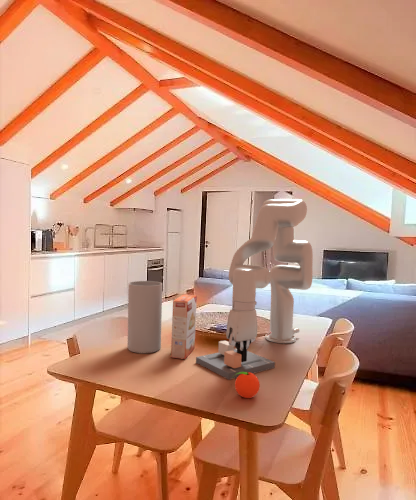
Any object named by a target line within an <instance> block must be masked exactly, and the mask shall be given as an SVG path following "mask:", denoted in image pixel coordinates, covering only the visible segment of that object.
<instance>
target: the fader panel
mask: <svg viewBox="0 0 416 500" xmlns="http://www.w3.org/2000/svg"><path fill="white" fill-rule="evenodd" d="M234 352H237V348H234ZM195 363H196V364H198V365H199V364H200V365H199V366H202V367H204V368H205V367H206V369H207V368H208V370H209V369H210V371H211V372H214V373H215V374H217V375H219V376H221V377H222V378H225V379H227V380H230V381H231V380H233V379H237V377H238V376H239V375H240V374H237V373H239V372H250V373H253V374H256V373H260V372H264V371H268V370H270V369H274V368H275V367H276V366H275V365H276V362H275V361H274V360H271V359H268V358H266V357H263V356H261V355H258V354H256V353H253V352H251V351H249V350H247V361H246V362H241V367H238V368H232V367H230V366H228V365H226V364H224V355H222V354H220V353H218V352H215V353H209V354H205V355H200V356H196V357H195ZM235 374H236V375H235ZM233 376H234V377H233Z"/></svg>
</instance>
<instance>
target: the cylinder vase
mask: <svg viewBox="0 0 416 500" xmlns="http://www.w3.org/2000/svg"><path fill="white" fill-rule="evenodd" d="M127 293H128V299H127V301H128V302H127V307H128V308H127V345H126V346H127V349H128V351H130V352H131V353H136V354H150V353H155V352H158V351H160V349H161V348H162V312H163V311H162V309H163V308H162V307H163V282H159V281H153V280H138V281H136V280H135V281H130V282H129V283H128V292H127Z"/></svg>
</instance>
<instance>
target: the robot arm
mask: <svg viewBox="0 0 416 500" xmlns="http://www.w3.org/2000/svg"><path fill="white" fill-rule="evenodd" d="M307 213H308V206H307V203H306V201H304V200H303V199H301V198H300V199H299V198H295V199H294V198H293V199H291V198H290V199H289V198H272V199H267V200H264V202H262V206H260V208H259V210H258V214H257V217H256V221H255V224H254V227H253V232H252V234H251V237H250V238H249V239H248V240H247V241H245V242H244V243H243V244H242V245H241V246H240V247H239V248H238V249H237V250H236V251H235V252H234V254H233V256H232V259H231V262H230V266H229V269H228V280H229V283H230V284H231V285H232V296H231V297H232V300H231V309H230V310H229V312H228V317H227V323H226V332H225V334H226V339H228V342H229V345H232V346H234V349H237V353H239V354H241V355H242V357H241V362H246V361H247V351H248V350H249V348H250V345H251V343H253V342H255V341H256V338H257V336H258V316H257V314H258V313H257V309H256V306H257V304H258V302H257V301H256V297H257V296H256V294H257V292H256V291H257V289H264V288H266V287H268V285H269V284H270V308H269V309H270V312H269V314H270V315H269V332H270V331H271V332H272V333H271V334H270V335H268V336H266V335H265V339H266V340H267V341H269V342H272V343H275V344H277V343H278V344H292V343H295V342H296V340H297V338H296V336H295V335H296V334H299V333H300V329H299V328H298V327H297V328H294V327H293V326H294V308H295V307H294V306H295V304H294V303H295V301H294V295H293V294H292V292H291V289H293V290H301V291H306V290H309V289H311V286H312V285H313V260H314V259H313V253H314V252H313V247H312V244H311V243H310V242H309V241H307V240H298V239H295V237H294V236H295V235H294V233H295V231H294V228H295V227H297V226H298V225H299V224H300V223H302V222H303V221H304V220H305V219H306V216H307ZM270 249H272V255H273V259H274V261H276V262H279V263H285V264H277V265H274V266H272V267H271V269H270V270H269V269H268V268H267V267H265V266H262V265H261V266H260V265H252V264H251V265H249V264H244V263H246V260H248V259H249V258H250V257H252V256H255V255H257V254H260V253H261V252H265V251H267V250H270ZM287 263H288V264H287ZM289 264H297V265H289Z"/></svg>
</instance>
